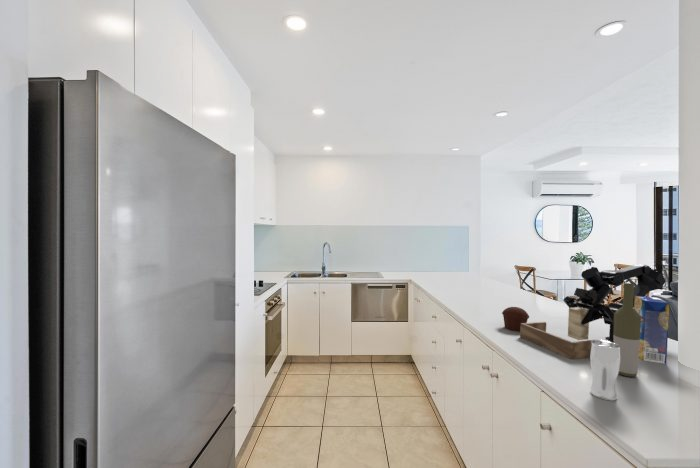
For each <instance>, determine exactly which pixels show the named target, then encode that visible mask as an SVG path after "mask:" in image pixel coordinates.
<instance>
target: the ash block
mask: <svg viewBox="0 0 700 468" xmlns="http://www.w3.org/2000/svg"><path fill="white" fill-rule="evenodd" d="M588 311H589V310H588V309H585V308H579V307H575V308H569V307H568V318H567V319H568V321H567V322H568V323H567V324H568V325H567V326H568V327H567V337H568V338H572V339H574V340H577V341H587V340H589V335H590V334H589V331H590V329H589V328H590V322H589V323H587V324H584V325H582V324H581V322H582V320H583V319H584V317H585V316H586V315H587V313H588Z"/></svg>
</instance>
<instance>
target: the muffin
mask: <svg viewBox="0 0 700 468" xmlns="http://www.w3.org/2000/svg"><path fill="white" fill-rule="evenodd" d="M501 314H502V316H503V323H504V328H505V329H507V330H508V331H512V332H519V333H520V326H521V323H528V319H530V315H529V314H528V312H527V311H526V310H524V309H523V308H521V307H519V306H518V307H517V306H508V307H507V308H504V310H503V311H502V312H501Z"/></svg>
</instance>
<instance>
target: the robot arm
mask: <svg viewBox="0 0 700 468" xmlns="http://www.w3.org/2000/svg"><path fill="white" fill-rule="evenodd" d="M580 275H581V277H582V279H583V280H584V281H585V283H586V285H588V287H589V288H591V289H589V290H587V289H583V288H581V287H580V288H579V287H576V289H575V290H574V292H573V293H574V294H573V296H577V297H578V300H579V301H578V300H577V299H576V297H572V296H565V297H564V299H562V301H563V302H564V303H565V304H566V306H567V307H568V309H569V308H575V307H579V308H583V309H587V310H589V311H588V313H587V315H586V316H585V317H584V319H583V320H582V322H581V324H582V325H584V324H587V323H589V324H590V323H591V322H594V321H597V320H603V322H604V324H605V325H609V333H608V334H609V335H608V336H605V339H606V340H611V341H613V334H614V313H615V312H616V311H617V310H618V309H620V308H621V307H622V306H623V298H622V299H621V300H620V301H619V302H618V303H615V302H610V303H608V304H607V305H606V304H605V303H606V302H605V299H606V297H607V296H608V295H614V290H613V287H619V286H620V285H622V284H624V283H625V280H629V279H632V278H636V279H637V280H636V281H637V284H636V285H634V293H633V308H634V303H635V296H645V297H647V295H648V294H649V293H650V292H651V291H656V290H659V289H660V288H662V287H663V286H664V285H665V283H666V281H667V280H666V277H665V276H664V274H662V273H661V272H660V271H657V270H656V269H654V268H652V267H650V266H649V265H647V264H640V263H635V264H632V265H631V266H628V267H627V266H626V267H624V268H621V269H617V270H611V269H610V270H609V269H608V270H607V269H606V270H601V271H599V269H598V267H596V266H591V267H590V268H588V269H585V270H583V271H581V273H580ZM611 286H613V287H611Z"/></svg>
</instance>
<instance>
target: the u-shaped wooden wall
mask: <svg viewBox="0 0 700 468" xmlns="http://www.w3.org/2000/svg"><path fill="white" fill-rule="evenodd" d="M519 336H520V338H521V339H524V340H526V341H528V342H531V343H533V344H535V345H537V346H540V347H543V348H544V349H546V350H549V351H552V352H554V353H556V354H558V355H561V356H563V355H564V357H566V358H568V359H570V358H571V359H570V360H577V358H579V359H586V358H585V357H588V358H590V349H591V341H592V340H593V339H590V340H589V339H586V340H577V341H570V340H568V339H566V338H564V337H563V338H562V337H560V336H557V335H554V334H552V333H550V332H547V321H538V322H535V321H534V322H527V323H521V326H520V332H519Z"/></svg>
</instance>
